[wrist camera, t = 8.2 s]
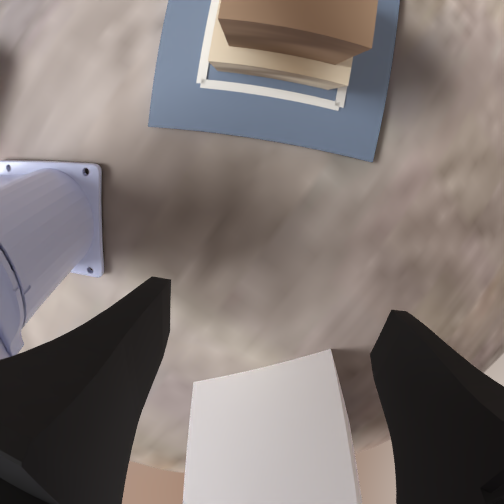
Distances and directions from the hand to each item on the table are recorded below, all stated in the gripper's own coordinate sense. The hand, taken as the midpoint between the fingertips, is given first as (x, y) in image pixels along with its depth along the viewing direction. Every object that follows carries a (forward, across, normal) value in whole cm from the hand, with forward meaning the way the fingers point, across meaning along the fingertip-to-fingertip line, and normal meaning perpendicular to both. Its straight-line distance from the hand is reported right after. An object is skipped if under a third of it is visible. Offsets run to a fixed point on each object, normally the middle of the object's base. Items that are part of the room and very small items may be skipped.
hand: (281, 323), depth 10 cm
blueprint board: (+10, +1, -11) cm, 15 cm away
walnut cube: (+6, +1, -11) cm, 12 cm away
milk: (+11, -4, +18) cm, 21 cm away
